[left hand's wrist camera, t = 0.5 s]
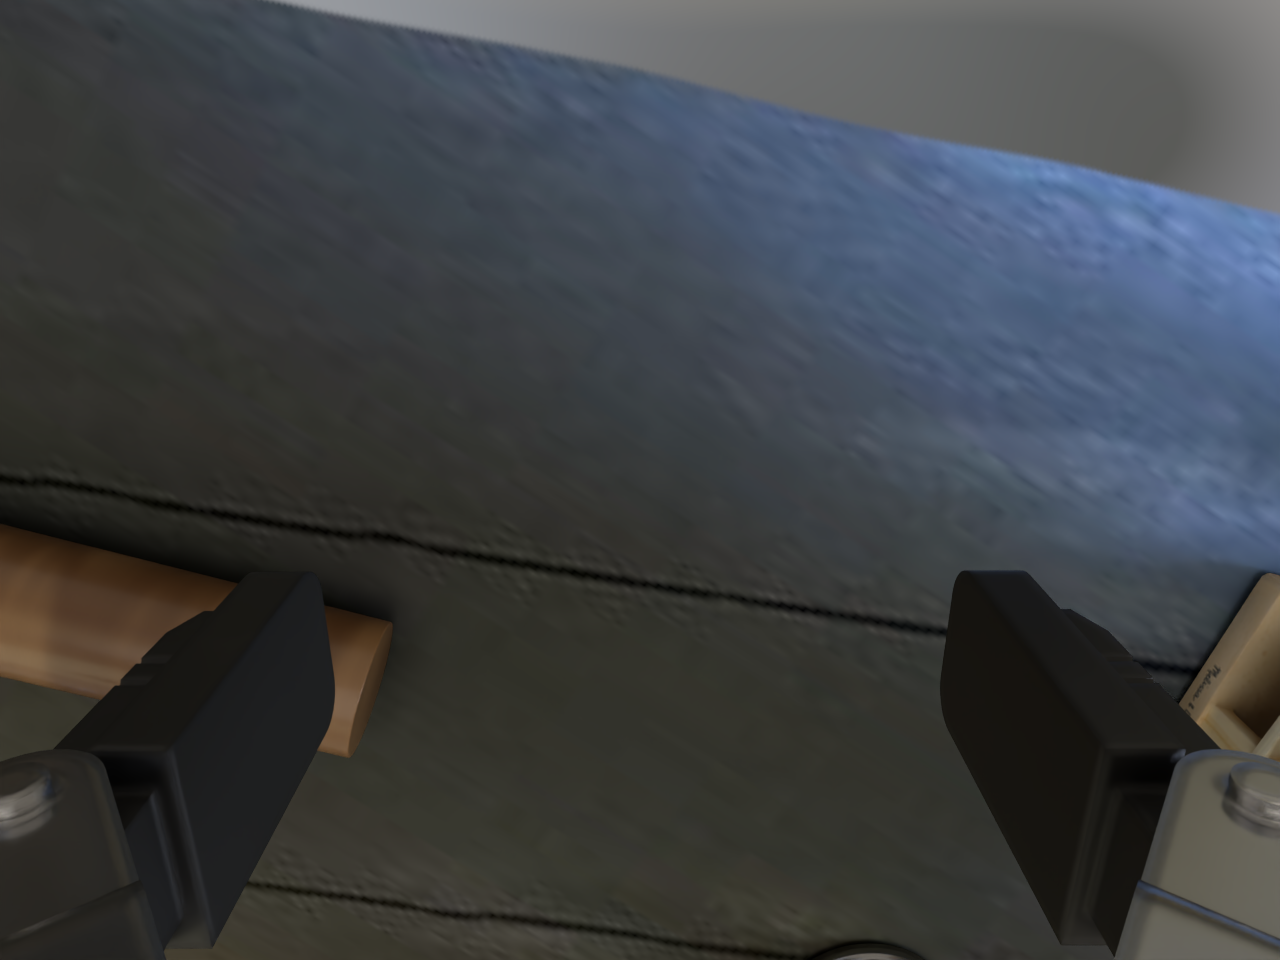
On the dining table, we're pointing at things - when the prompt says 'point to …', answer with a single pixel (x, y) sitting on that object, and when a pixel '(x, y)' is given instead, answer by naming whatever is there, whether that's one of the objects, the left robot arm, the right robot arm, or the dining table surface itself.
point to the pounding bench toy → (1243, 678)
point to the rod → (145, 624)
